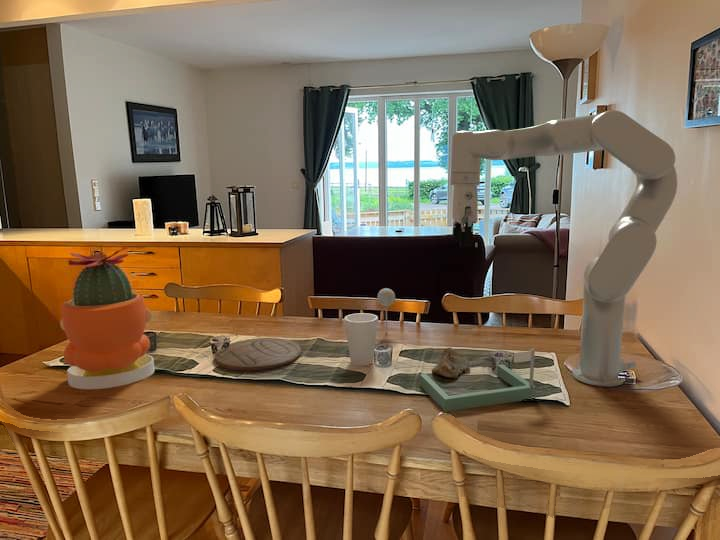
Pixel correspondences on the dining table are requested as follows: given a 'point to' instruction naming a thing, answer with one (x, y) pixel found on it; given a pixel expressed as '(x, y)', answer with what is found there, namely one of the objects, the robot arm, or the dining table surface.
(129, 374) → the potted cactus
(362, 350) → the foam cup
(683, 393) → the dining table surface
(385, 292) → the lollipop
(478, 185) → the robot arm
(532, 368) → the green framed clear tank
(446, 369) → the decorative stone
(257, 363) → the trivet
